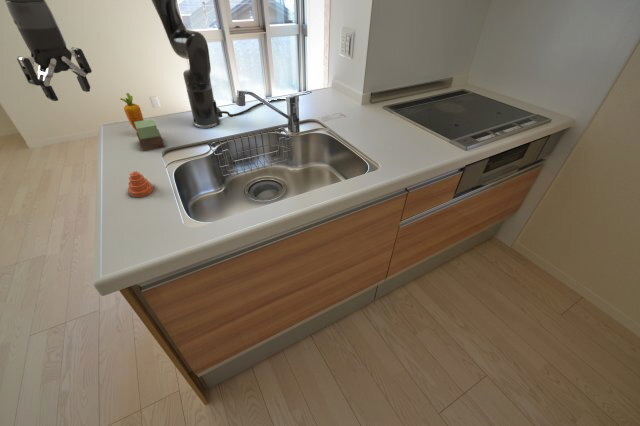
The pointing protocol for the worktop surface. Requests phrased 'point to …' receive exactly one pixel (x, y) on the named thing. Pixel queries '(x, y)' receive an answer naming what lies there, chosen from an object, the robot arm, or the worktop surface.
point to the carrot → (132, 111)
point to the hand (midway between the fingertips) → (71, 95)
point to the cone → (139, 185)
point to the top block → (146, 129)
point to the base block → (151, 142)
